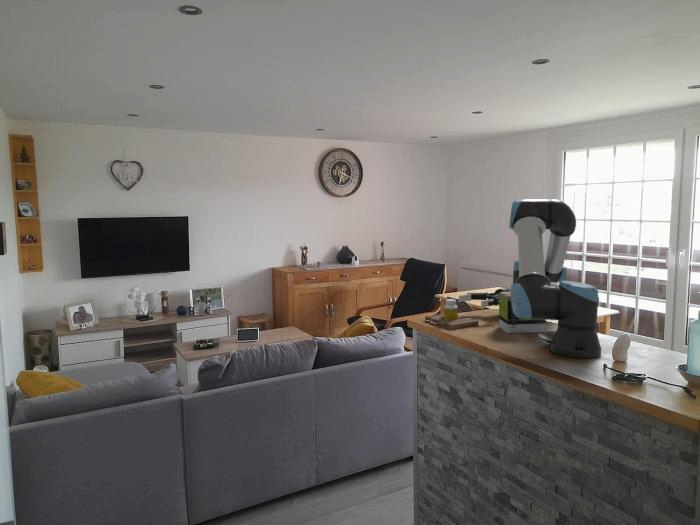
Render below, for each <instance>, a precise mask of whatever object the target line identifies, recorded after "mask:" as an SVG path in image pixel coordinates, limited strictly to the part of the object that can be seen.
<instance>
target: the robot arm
mask: <svg viewBox="0 0 700 525" xmlns="http://www.w3.org/2000/svg"><path fill="white" fill-rule="evenodd" d="M510 209H511V210H510V217H509V225H508V226H509V229H510V230H513V233H514V234H515V235H516V236H517V250H518V251H517V252H518V259H516V260H515V261H513V268H512V269H513V271H512V284H511V286H509V287H504V288H497V289H496V290H495V291H494V292H490V293H489V292H467V293H466V294H460V295H458V303H461V302H467V301H468V302H471V300H472V301H480V307H481V308H487V307H488V308H489V307H494V306H495V307H497V306H498V307H499V292H511V304H512V309H513V313H514V315H515V316H516V317H518V318H526V319H545V321H547V320H549V321H557V328H556V331H555V334H554V335H553V337H552V341H551V346H550V347H551V348H550V349H551V351H552V352H553V353H554V354H557V355H560V356H563V357H568V358H574V359H586V360H587V359H588V360H589V359H596V358H600V357H601V355H602V347H601V343H600V339H599V336H598V332H597V328H598V327H597V324H598V310H599V306H598V305H599V303H600V301H599V291H598V289H597V287H595V286H594V285H591V284H587V283H584V282H578V281H572V280H567V276H568V275H567V267H566V266H565V265H564V264H565V260H566V256H567V253H568V252H567V251H568V247H569V245H570V239H571V237H572V235H573V234H575V231H576V227H577V218H576V215H575V213H574V211H573V209H572V208H571V207H570V206H569V205H568V204H567V203H566V202H563V201H562V200H560V199H555V198H552V199H551V198H550V199H548V198H547V199H546V198H545V199H541V198H540V199H539V198H537V199H535V198H533V199H531V198H530V199H529V198H528V199H526V198H522V199H515V200H513V202H512V205H511V208H510ZM546 230H549V231H550V234H549V239H548V245H547V249H546V255H545V257H544V254H545V253H544V244H543V243H544V242H543V234H544V232H545V231H546ZM551 283H555V284H551ZM556 283H559V284H557V285H556Z"/></svg>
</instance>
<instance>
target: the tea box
mask: <svg viewBox="0 0 700 525" xmlns="http://www.w3.org/2000/svg"><path fill="white" fill-rule="evenodd" d="M498 327H499V328H500V329H501V330H503V331H504V332H505V333H506V334H518V333H519V334H520V333H522V334H523V333H525V334H526V333H545V332H546V320H545V319H526V318H518V317H516V316H515V315H514V313H513V309H512V304H511V292H499V305H498Z"/></svg>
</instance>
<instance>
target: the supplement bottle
mask: <svg viewBox="0 0 700 525" xmlns="http://www.w3.org/2000/svg"><path fill="white" fill-rule="evenodd" d="M445 303H446V304H445V305H444V308H443V309H444V310H443V311H444V312H443V314H444V319H445V320H448V321H451V320H458V319H457V315H458V305H457V300H456V299H453V298H447V299H445Z"/></svg>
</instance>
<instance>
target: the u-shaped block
mask: <svg viewBox="0 0 700 525" xmlns="http://www.w3.org/2000/svg"><path fill="white" fill-rule="evenodd" d="M437 316H439V317H437ZM425 320H430V321H432V322H434V323H437V324H439V325H441V326H440V327H442V326H443V327H442V328H445V329H449V330H451V331H452V330H453V331H454V330H459V329H460V330H461V329H464V328H471V327H476V326H479V320H477V319H474V318H471V317H466V318H465V317H464V318H459V314H457V320H451V321H448V320H445V319H444V313H439V314H432V315H426V316H424V321H425ZM439 325H438V326H439Z"/></svg>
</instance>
